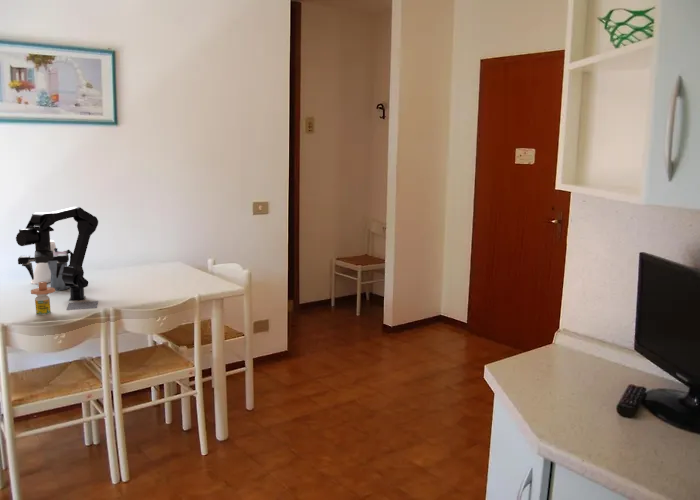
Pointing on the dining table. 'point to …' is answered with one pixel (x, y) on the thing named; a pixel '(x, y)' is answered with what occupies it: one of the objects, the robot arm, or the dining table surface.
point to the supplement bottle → (42, 304)
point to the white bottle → (43, 269)
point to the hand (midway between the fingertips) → (45, 278)
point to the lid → (42, 289)
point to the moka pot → (55, 281)
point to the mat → (82, 305)
